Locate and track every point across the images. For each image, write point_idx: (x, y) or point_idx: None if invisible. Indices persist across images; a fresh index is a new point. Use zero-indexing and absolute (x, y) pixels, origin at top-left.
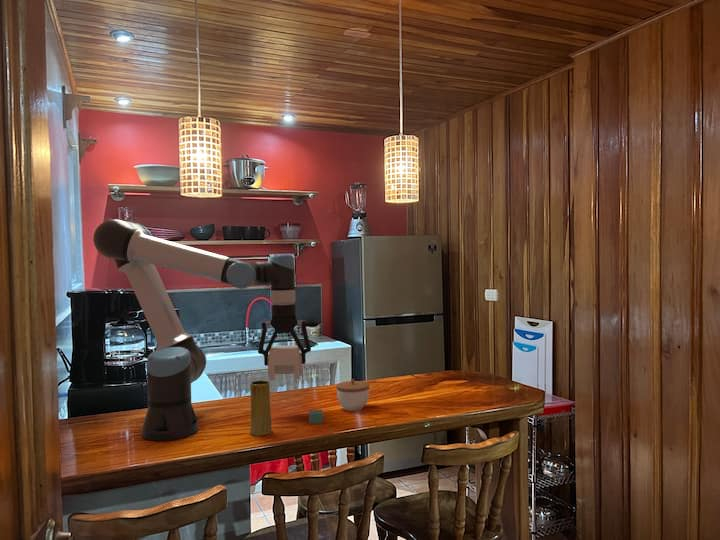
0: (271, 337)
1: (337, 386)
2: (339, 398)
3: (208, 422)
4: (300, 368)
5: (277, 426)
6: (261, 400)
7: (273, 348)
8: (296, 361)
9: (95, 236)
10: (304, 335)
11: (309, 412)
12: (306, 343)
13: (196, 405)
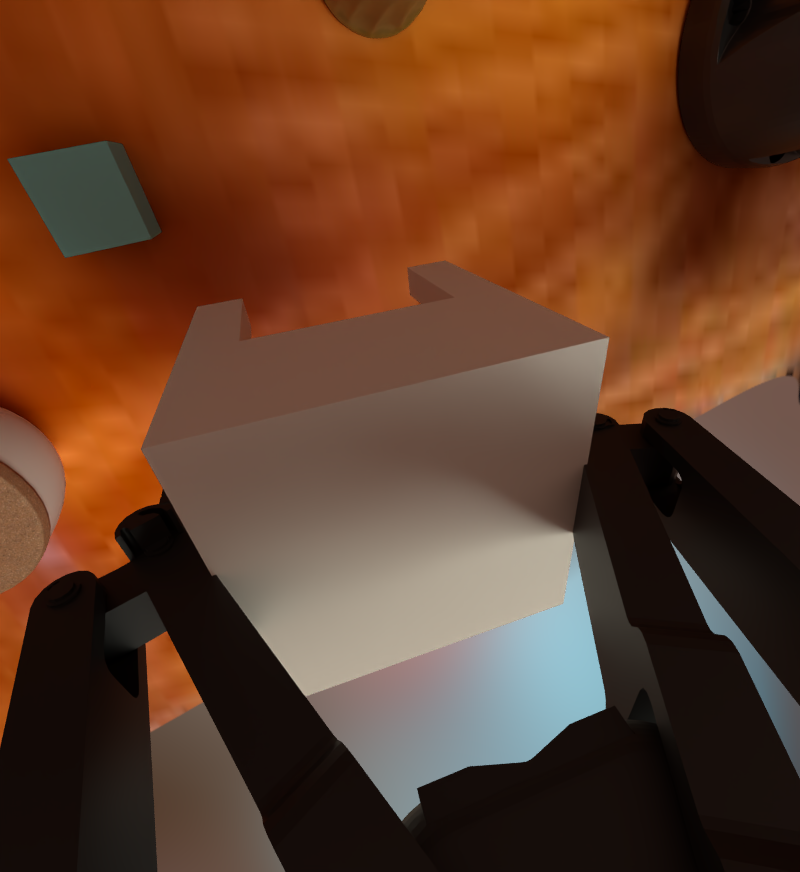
0: (691, 589)
1: (3, 482)
2: (14, 430)
3: (633, 189)
4: None
5: (305, 94)
6: None
7: (547, 505)
8: (206, 360)
9: None
10: (43, 856)
11: (124, 189)
12: (66, 678)
13: (663, 407)
